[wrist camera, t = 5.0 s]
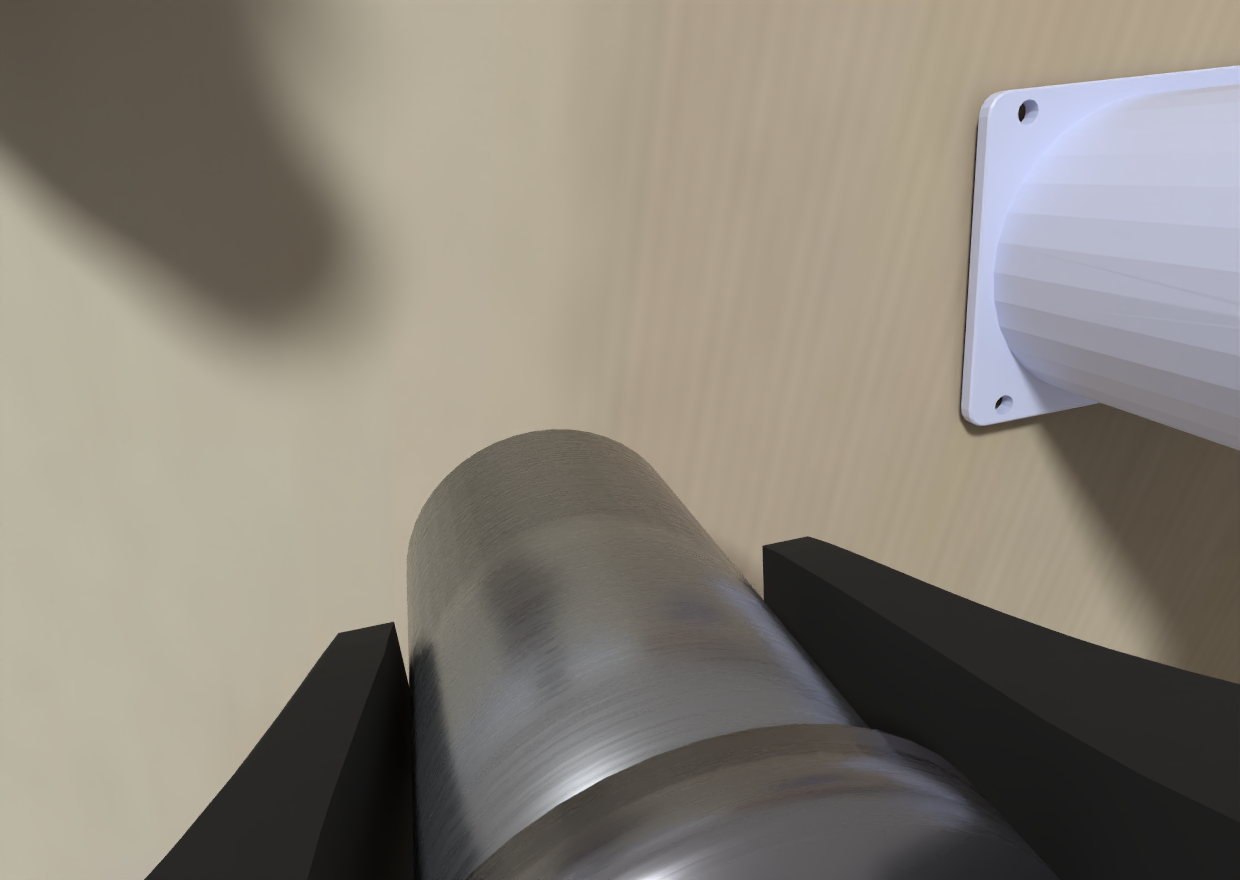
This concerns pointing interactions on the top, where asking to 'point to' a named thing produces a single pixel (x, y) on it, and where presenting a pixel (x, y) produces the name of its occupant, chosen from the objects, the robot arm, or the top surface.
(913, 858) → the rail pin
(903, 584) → the robot arm
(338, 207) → the top surface
